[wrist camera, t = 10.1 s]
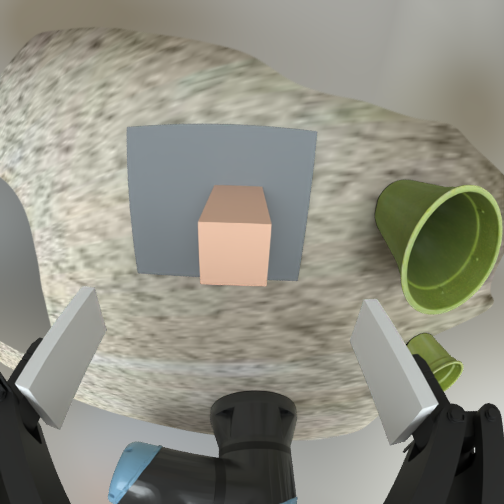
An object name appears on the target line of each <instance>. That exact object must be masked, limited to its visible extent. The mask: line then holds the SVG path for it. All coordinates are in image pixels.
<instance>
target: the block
mask: <svg viewBox="0 0 504 504" xmlns="http://www.w3.org/2000/svg"><path fill="white" fill-rule="evenodd" d="M271 226H272V224H271V220H270V216H269V212H268V208H267V204H266V200H265V196H264V192H263V188H262V187H260V186H234V185H214V187H213V189H212V192H211V194H210V196H209V198H208V200H207V203H206V205H205V207H204V209H203V212H202V214H201V216H200V218H199V221H198V240H199V265H200V284H211V285H238V286H266V284H267V273H268V262H269V250H270V238H271Z"/></svg>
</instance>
